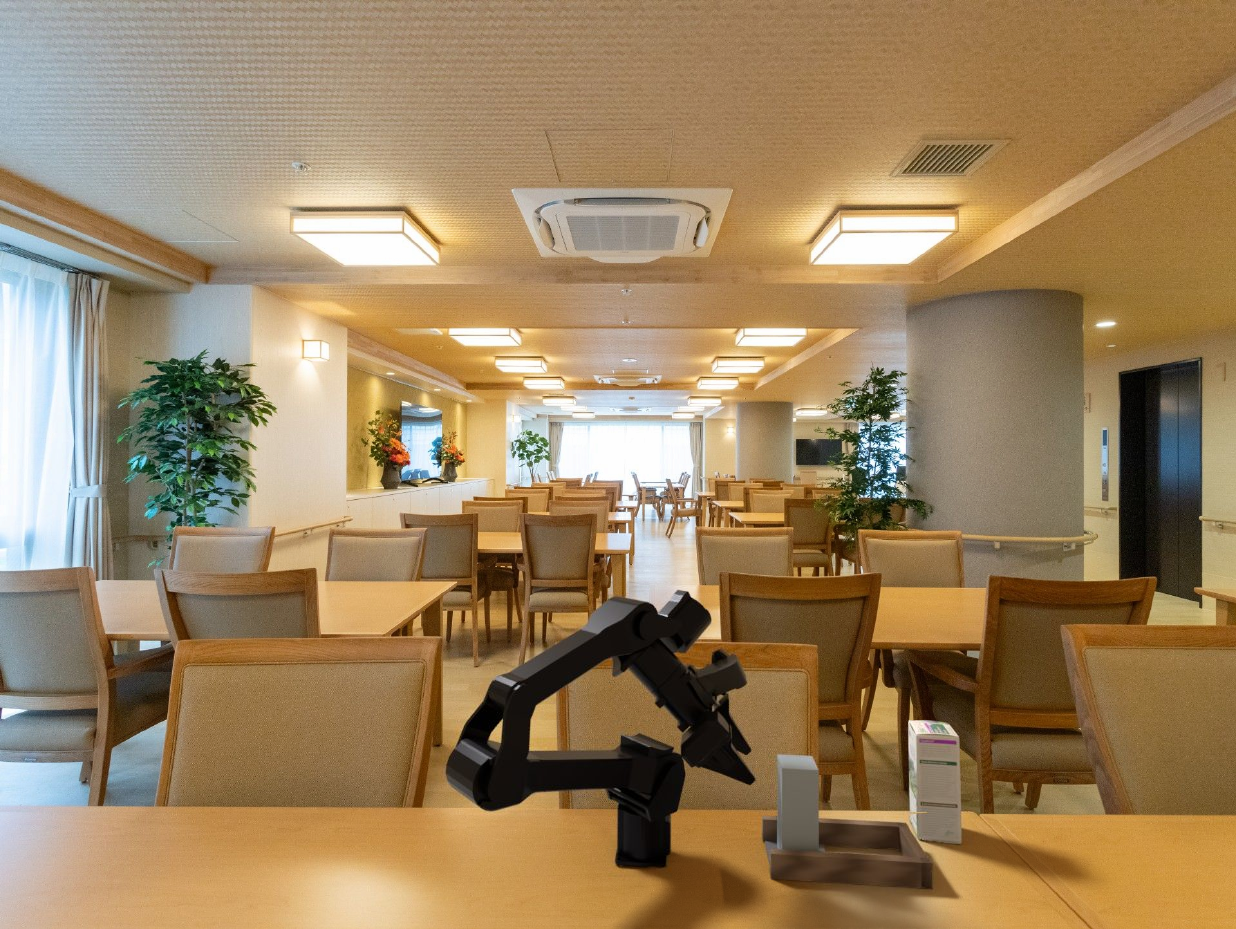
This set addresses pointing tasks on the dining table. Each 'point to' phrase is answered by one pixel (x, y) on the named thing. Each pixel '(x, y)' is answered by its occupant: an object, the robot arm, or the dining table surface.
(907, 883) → the frame
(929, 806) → the syrup box
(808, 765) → the slate block
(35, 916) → the dining table surface
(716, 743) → the robot arm
